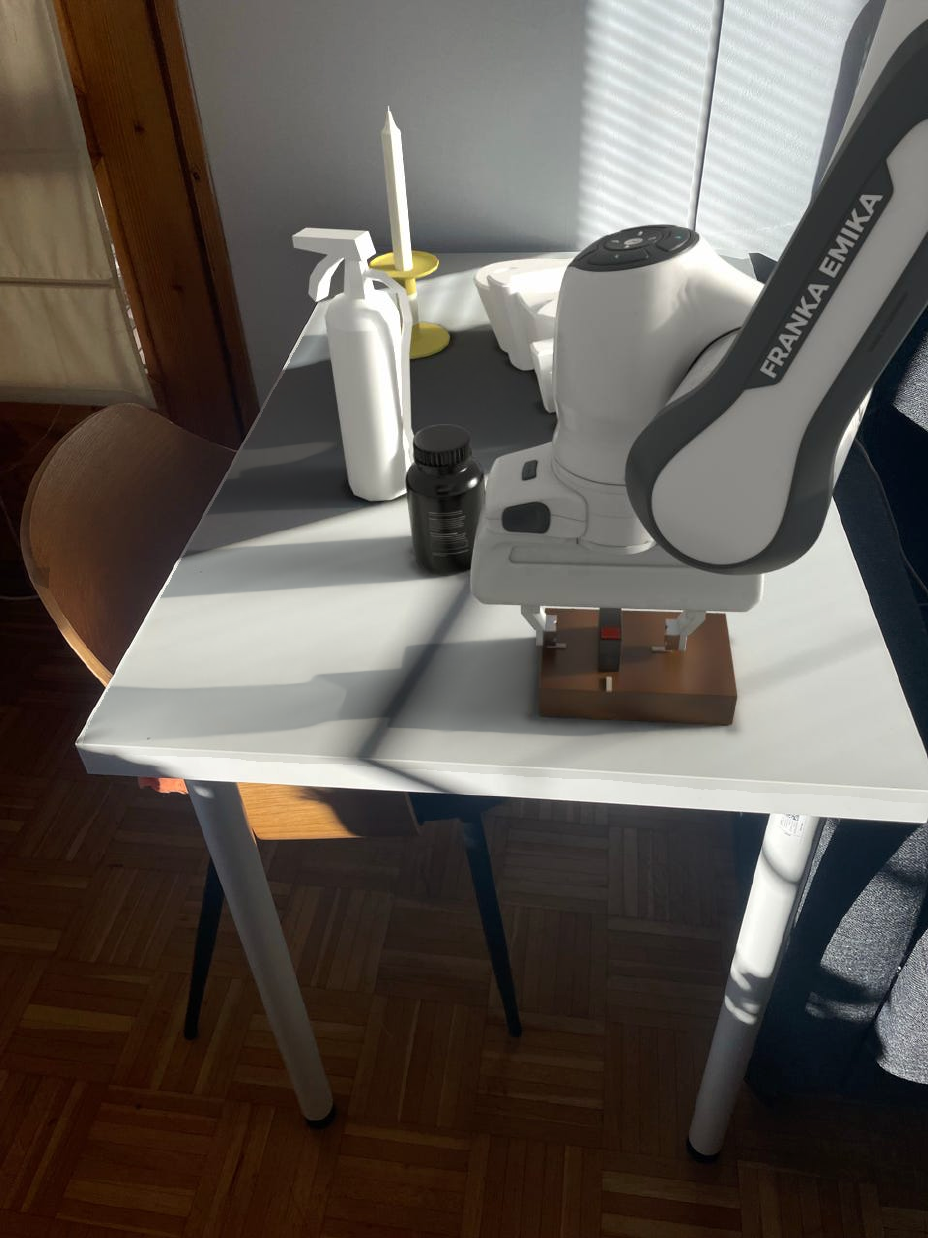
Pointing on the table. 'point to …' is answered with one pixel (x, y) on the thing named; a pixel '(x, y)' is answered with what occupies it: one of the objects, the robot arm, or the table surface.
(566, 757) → the table surface
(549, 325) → the white wavy slab sculpture
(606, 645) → the black rectangular block
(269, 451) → the table surface
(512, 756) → the table surface
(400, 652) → the table surface
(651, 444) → the robot arm
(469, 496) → the supplement bottle
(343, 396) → the fire extinguisher
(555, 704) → the dial panel
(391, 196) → the candle
